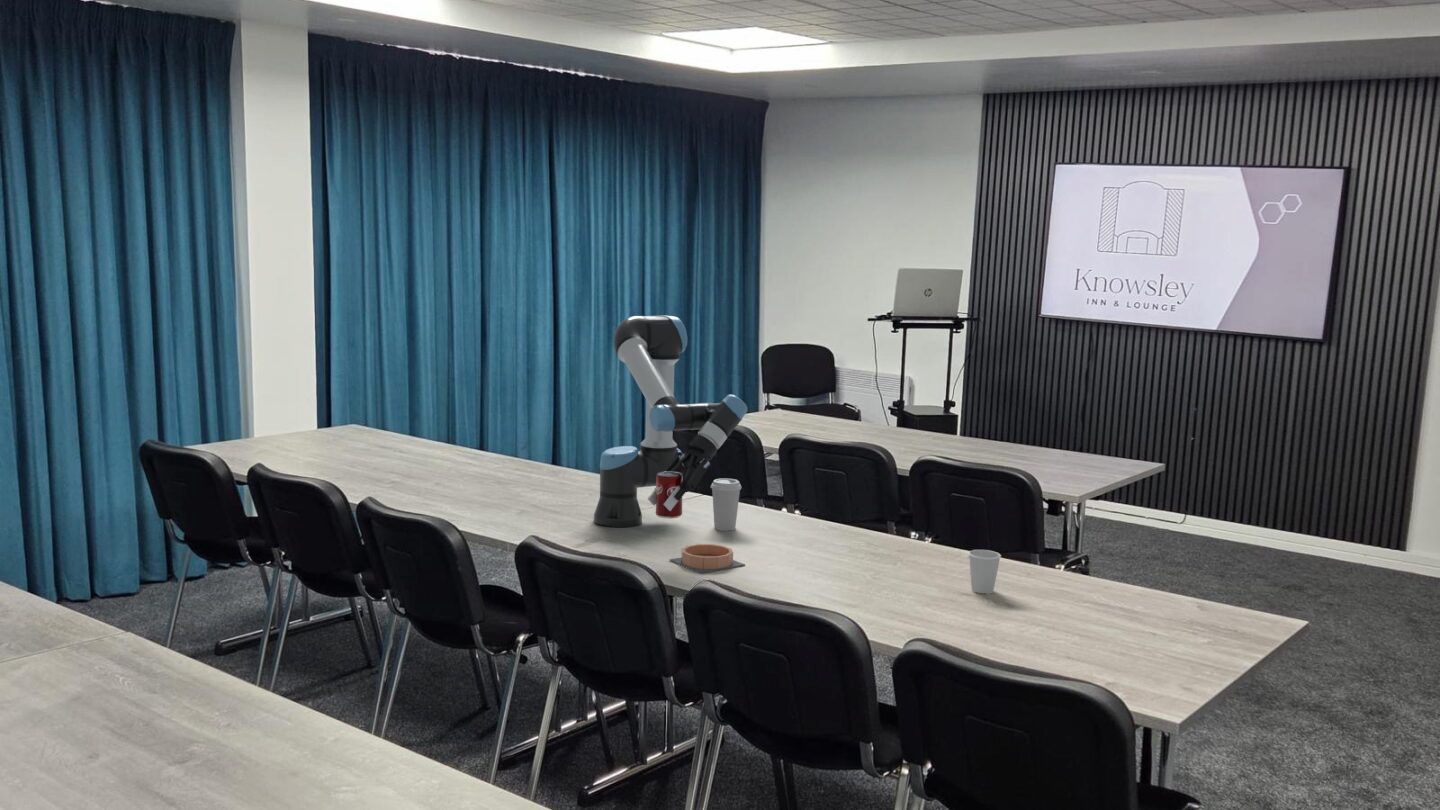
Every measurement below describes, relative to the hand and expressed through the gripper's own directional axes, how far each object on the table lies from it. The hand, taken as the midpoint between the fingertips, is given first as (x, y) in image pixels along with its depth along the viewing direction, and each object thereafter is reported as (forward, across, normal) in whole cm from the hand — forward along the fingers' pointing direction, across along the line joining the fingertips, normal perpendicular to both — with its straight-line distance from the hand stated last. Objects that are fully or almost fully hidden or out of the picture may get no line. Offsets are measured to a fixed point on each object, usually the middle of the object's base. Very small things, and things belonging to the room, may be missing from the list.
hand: (658, 504), depth 327 cm
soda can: (0, 0, -5) cm, 5 cm away
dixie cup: (-29, -66, -53) cm, 90 cm away
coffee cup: (-16, +21, -39) cm, 48 cm away
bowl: (+4, -8, -19) cm, 21 cm away
